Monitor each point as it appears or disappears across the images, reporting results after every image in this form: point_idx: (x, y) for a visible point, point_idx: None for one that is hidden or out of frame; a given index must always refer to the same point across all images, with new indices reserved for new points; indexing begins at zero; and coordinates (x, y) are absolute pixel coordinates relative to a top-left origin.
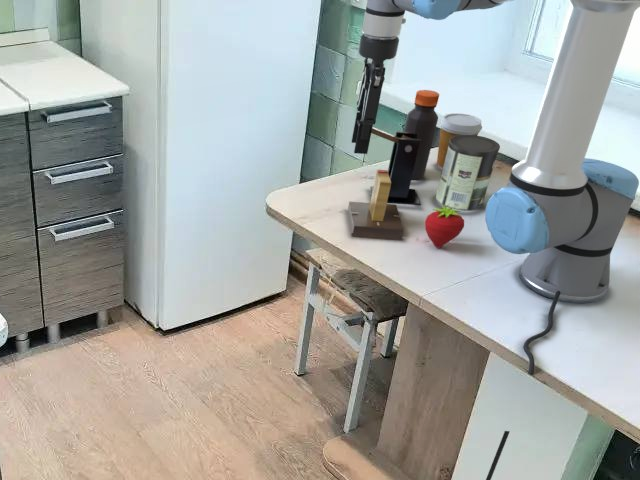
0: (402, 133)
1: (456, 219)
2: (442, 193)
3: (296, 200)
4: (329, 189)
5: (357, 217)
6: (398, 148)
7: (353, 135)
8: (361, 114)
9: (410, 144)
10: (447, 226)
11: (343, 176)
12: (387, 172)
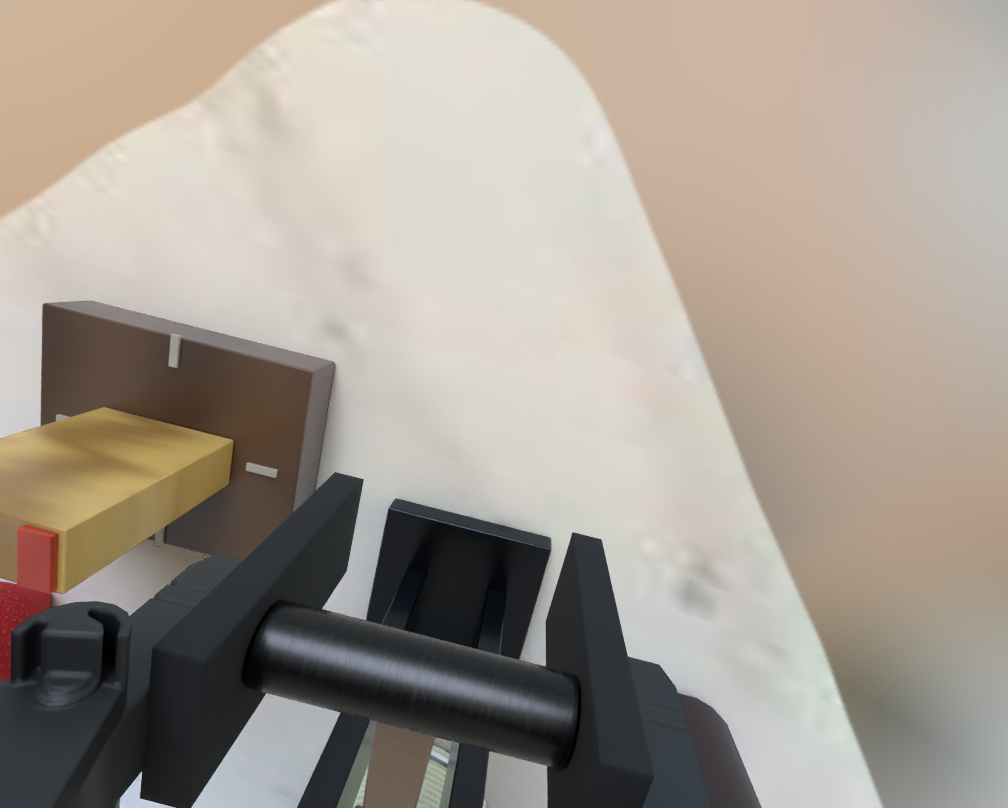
0: None
1: None
2: (359, 789)
3: (475, 136)
4: (592, 357)
5: (133, 349)
6: (301, 800)
7: (577, 570)
8: (577, 801)
9: None
10: None
11: (738, 478)
12: (19, 582)
